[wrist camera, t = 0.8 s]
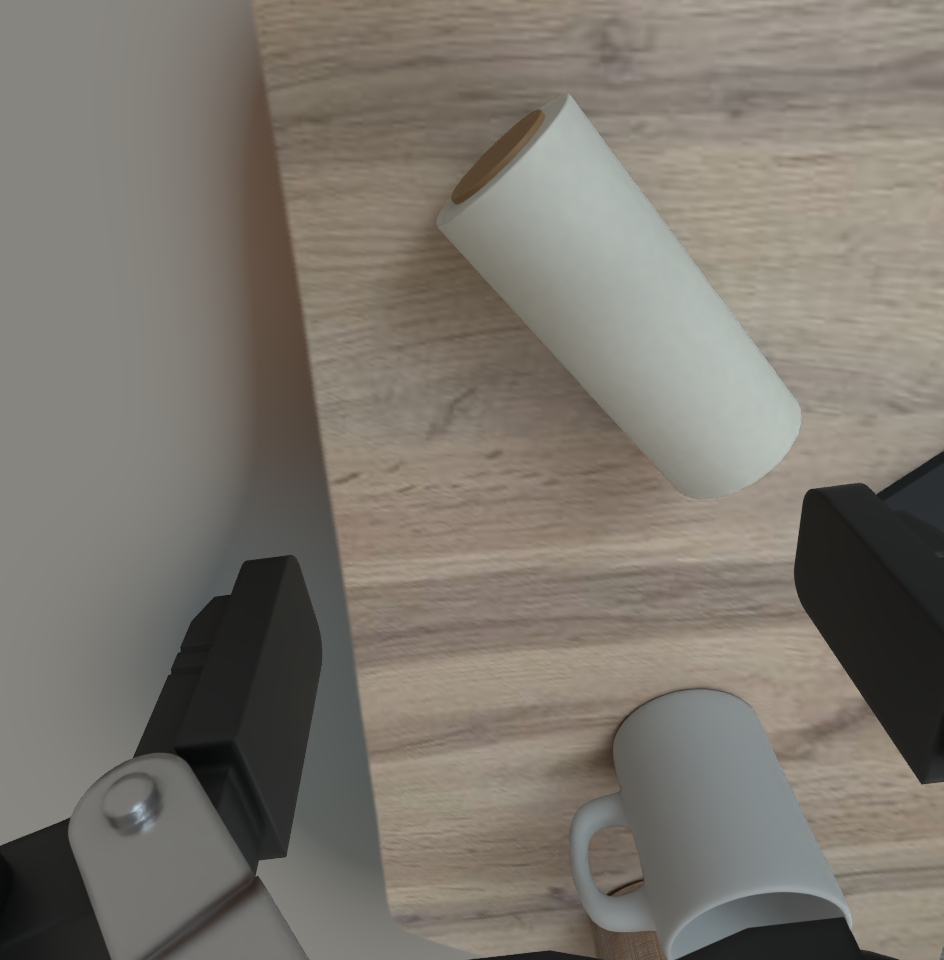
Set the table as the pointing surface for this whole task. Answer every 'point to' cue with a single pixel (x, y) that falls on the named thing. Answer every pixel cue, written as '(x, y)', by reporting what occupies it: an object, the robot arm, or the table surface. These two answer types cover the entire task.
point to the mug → (704, 828)
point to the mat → (920, 493)
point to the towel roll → (621, 302)
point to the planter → (627, 939)
